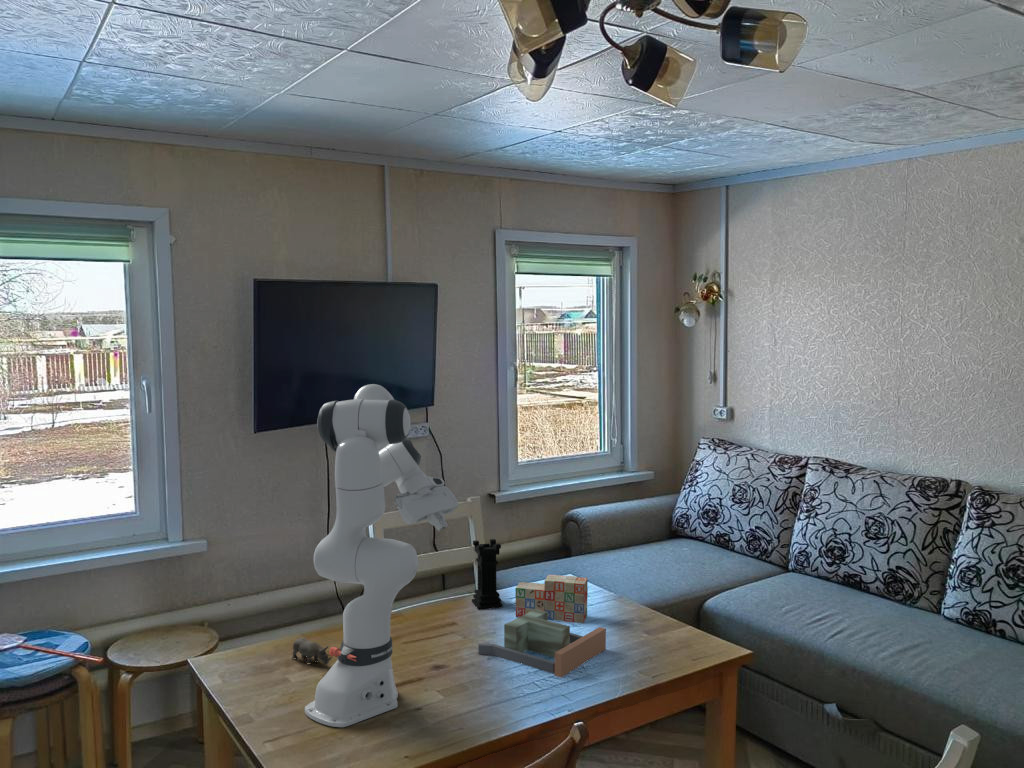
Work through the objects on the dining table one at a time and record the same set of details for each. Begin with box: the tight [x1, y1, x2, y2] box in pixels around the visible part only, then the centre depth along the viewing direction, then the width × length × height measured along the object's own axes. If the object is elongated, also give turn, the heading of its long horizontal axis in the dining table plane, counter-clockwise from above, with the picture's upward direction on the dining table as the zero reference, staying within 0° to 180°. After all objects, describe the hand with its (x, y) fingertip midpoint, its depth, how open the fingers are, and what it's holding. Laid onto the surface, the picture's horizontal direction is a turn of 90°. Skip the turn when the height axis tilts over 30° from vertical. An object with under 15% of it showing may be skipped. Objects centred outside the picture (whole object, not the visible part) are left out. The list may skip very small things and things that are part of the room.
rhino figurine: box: [291, 636, 333, 665], centre depth 218 cm, size 4×14×6 cm, turn 56°
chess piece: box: [471, 538, 503, 611], centre depth 262 cm, size 8×8×20 cm
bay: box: [477, 626, 607, 678], centre depth 225 cm, size 24×27×6 cm
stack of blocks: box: [514, 574, 589, 624], centre depth 251 cm, size 21×6×12 cm, turn 75°
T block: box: [503, 609, 571, 659], centre depth 226 cm, size 15×15×8 cm
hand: (443, 528), depth 234 cm, fingers closed
